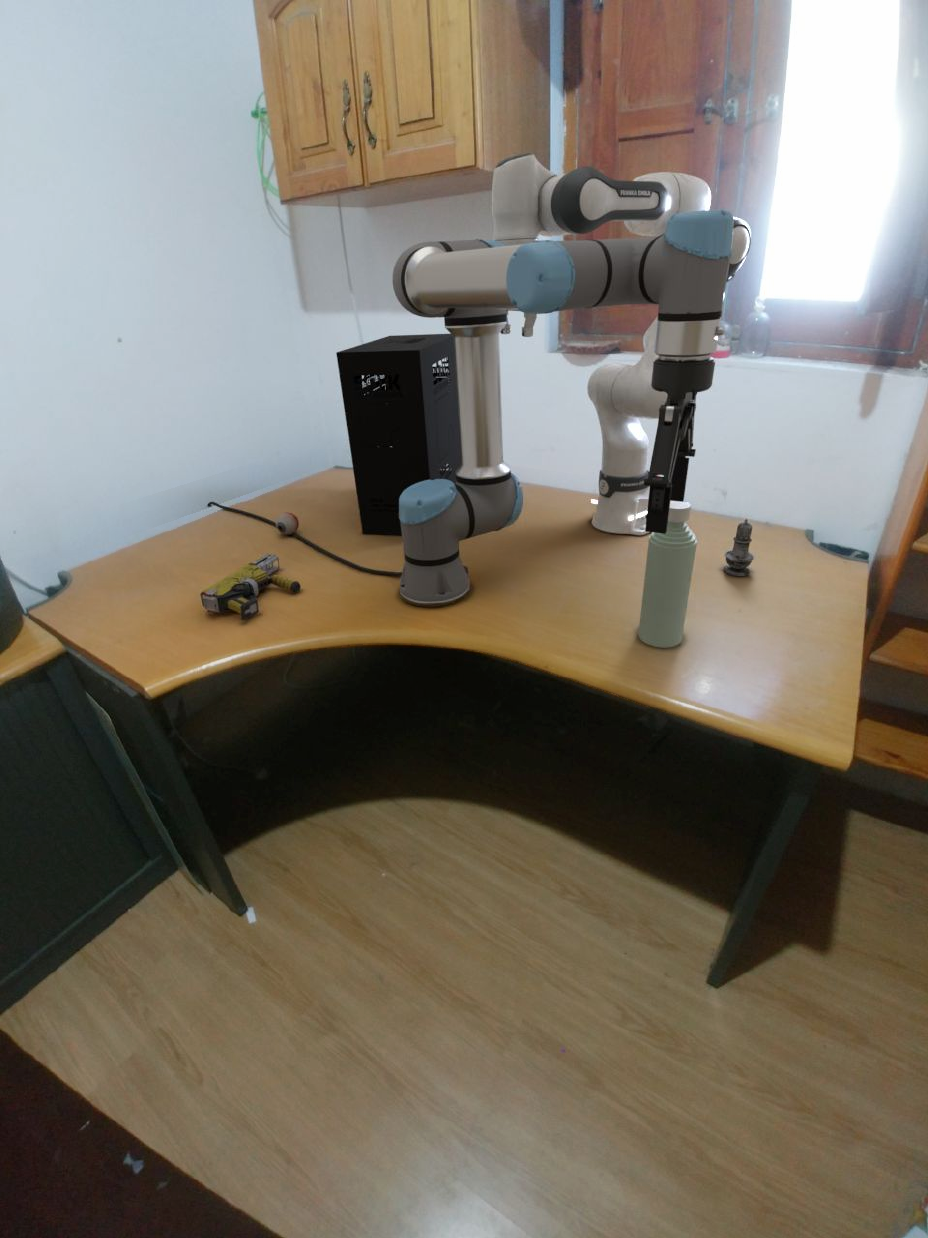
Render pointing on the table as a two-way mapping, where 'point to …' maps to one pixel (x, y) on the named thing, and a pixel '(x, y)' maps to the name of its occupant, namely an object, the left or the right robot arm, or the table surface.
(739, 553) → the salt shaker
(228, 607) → the toy gun
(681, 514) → the cap
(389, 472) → the cardboard box
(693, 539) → the bottle
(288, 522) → the eyeball
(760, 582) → the table surface
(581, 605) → the table surface
